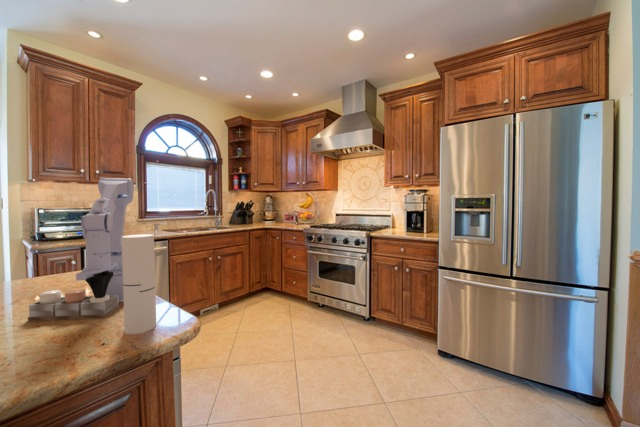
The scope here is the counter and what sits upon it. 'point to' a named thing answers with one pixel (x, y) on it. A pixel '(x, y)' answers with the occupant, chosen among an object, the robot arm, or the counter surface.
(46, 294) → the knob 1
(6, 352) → the counter surface
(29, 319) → the mount
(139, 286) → the cylindrical container
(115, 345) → the counter surface
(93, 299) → the knob
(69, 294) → the middle knob
